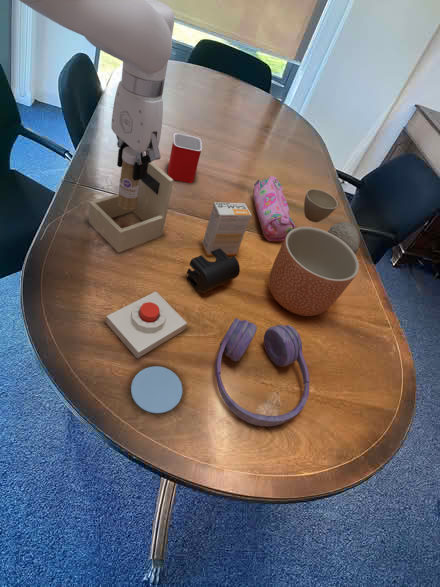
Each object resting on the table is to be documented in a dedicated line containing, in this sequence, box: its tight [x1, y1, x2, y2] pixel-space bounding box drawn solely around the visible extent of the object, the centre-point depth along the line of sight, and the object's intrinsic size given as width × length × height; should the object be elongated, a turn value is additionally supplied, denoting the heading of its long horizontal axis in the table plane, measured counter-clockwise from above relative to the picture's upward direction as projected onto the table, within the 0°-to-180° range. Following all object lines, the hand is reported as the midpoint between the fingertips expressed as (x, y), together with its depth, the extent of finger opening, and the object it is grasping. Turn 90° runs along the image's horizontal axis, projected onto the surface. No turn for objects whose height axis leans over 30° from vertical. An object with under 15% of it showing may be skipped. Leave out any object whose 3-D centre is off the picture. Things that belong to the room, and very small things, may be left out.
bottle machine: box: [88, 161, 175, 253], centre depth 88 cm, size 13×12×16 cm
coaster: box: [130, 365, 183, 415], centre depth 68 cm, size 9×9×1 cm
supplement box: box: [201, 201, 252, 257], centre depth 94 cm, size 8×5×13 cm, turn 108°
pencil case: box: [252, 175, 296, 242], centre depth 110 cm, size 21×9×9 cm, turn 4°
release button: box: [139, 302, 160, 322], centre depth 73 cm, size 4×4×2 cm
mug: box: [167, 132, 203, 184], centre depth 115 cm, size 12×8×11 cm
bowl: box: [303, 188, 339, 223], centre depth 118 cm, size 10×10×7 cm
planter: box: [268, 226, 360, 317], centre depth 88 cm, size 17×17×15 cm
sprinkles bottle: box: [117, 146, 146, 210], centre depth 84 cm, size 5×5×13 cm
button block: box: [105, 291, 188, 359], centre depth 75 cm, size 12×10×4 cm
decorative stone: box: [327, 221, 360, 255], centre depth 107 cm, size 10×8×10 cm
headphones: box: [214, 317, 311, 427], centre depth 73 cm, size 18×8×20 cm
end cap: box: [186, 248, 241, 293], centre depth 87 cm, size 10×7×7 cm
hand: (131, 171), depth 82 cm, fingers closed on sprinkles bottle, 4 cm apart
